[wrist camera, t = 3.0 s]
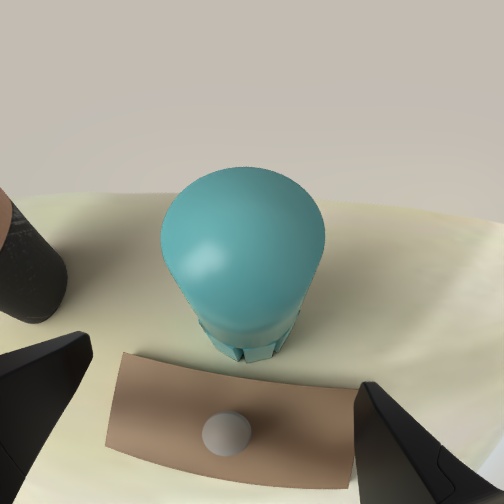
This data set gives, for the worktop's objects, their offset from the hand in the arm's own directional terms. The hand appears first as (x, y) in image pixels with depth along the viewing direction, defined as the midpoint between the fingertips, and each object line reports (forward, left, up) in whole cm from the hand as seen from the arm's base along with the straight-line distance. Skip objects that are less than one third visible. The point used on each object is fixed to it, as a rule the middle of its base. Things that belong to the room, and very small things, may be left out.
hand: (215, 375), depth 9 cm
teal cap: (+2, +4, -11) cm, 12 cm away
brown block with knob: (-1, -3, -11) cm, 12 cm away
